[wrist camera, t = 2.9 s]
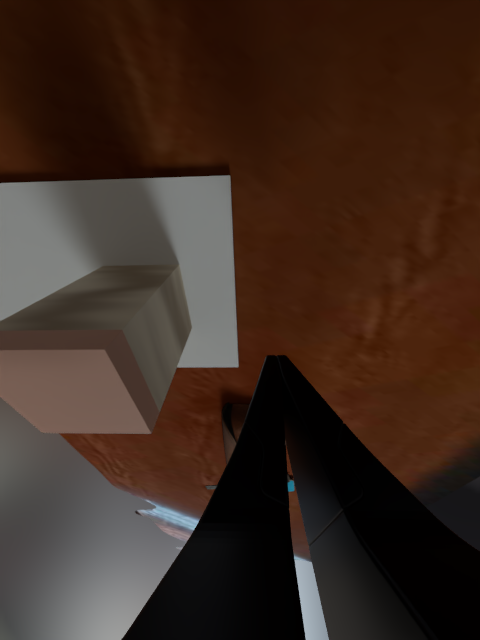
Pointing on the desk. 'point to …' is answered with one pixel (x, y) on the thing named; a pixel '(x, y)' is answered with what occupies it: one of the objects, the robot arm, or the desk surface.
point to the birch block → (97, 351)
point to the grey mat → (126, 246)
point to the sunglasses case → (232, 425)
